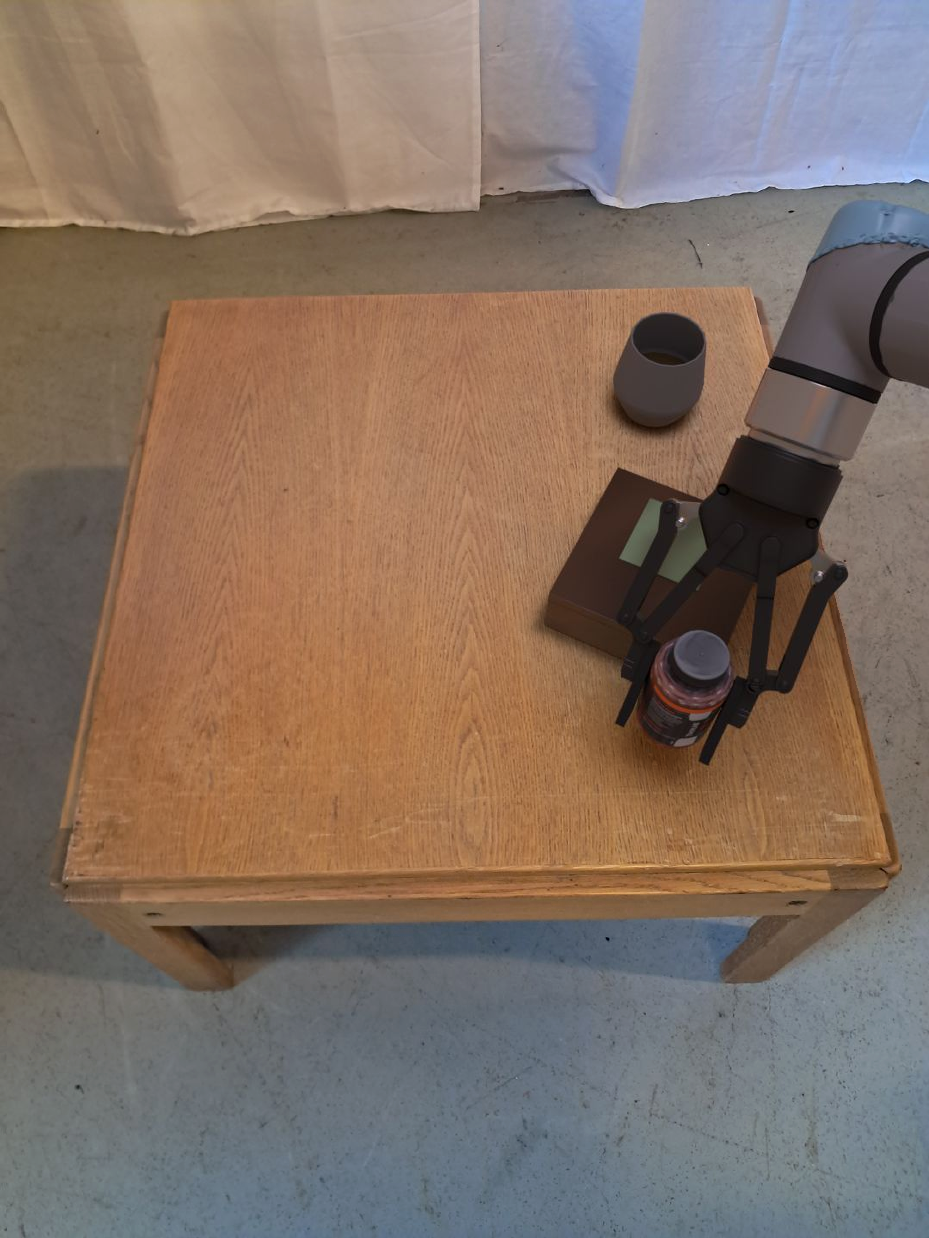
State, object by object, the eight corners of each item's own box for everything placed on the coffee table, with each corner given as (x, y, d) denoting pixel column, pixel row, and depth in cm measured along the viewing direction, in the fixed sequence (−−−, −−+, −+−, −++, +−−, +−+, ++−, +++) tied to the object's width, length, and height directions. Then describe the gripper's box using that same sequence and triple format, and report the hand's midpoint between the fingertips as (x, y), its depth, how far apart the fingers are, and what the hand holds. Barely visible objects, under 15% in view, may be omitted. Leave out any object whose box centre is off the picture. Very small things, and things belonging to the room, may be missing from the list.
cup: (604, 435, 98) (617, 368, 89) (611, 371, 102) (624, 301, 94) (693, 445, 97) (715, 378, 88) (696, 380, 102) (717, 310, 93)
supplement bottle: (701, 760, 72) (738, 703, 62) (627, 740, 73) (651, 681, 63) (713, 694, 75) (750, 629, 65) (642, 675, 76) (667, 609, 66)
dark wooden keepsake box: (759, 563, 90) (777, 527, 84) (703, 695, 83) (719, 665, 78) (610, 503, 94) (618, 465, 88) (544, 625, 87) (548, 592, 81)
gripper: (926, 494, 63) (784, 774, 70) (669, 402, 68) (561, 674, 75) (941, 504, 56) (783, 813, 64) (654, 400, 61) (537, 700, 68)
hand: (663, 737), depth 69 cm, fingers closed on supplement bottle, 6 cm apart
